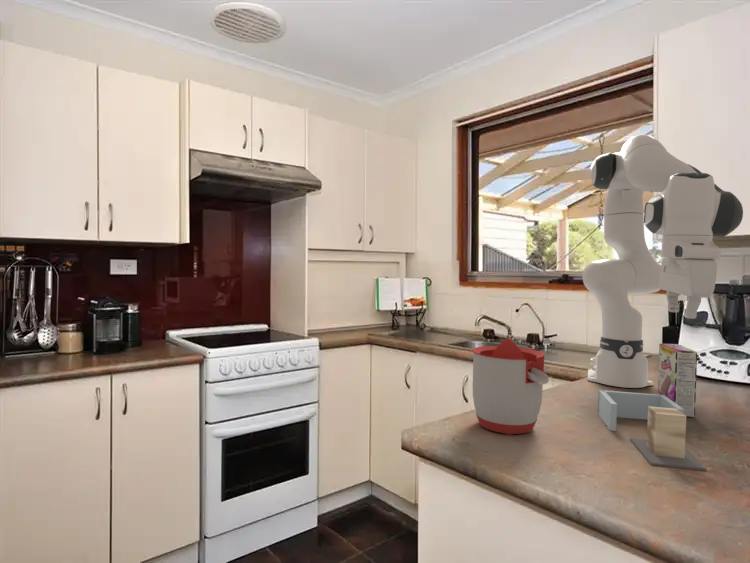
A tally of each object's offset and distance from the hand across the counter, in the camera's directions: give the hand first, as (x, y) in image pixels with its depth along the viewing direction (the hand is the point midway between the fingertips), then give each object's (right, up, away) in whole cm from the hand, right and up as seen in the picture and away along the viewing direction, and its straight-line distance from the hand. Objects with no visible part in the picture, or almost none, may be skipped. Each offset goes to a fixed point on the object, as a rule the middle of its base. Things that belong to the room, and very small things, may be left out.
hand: (681, 314), depth 100 cm
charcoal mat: (-9, -26, -9) cm, 29 cm away
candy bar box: (+12, -26, +20) cm, 35 cm away
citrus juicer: (-35, -26, +5) cm, 44 cm away
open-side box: (-5, -26, +8) cm, 28 cm away
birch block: (-9, -26, -9) cm, 29 cm away
